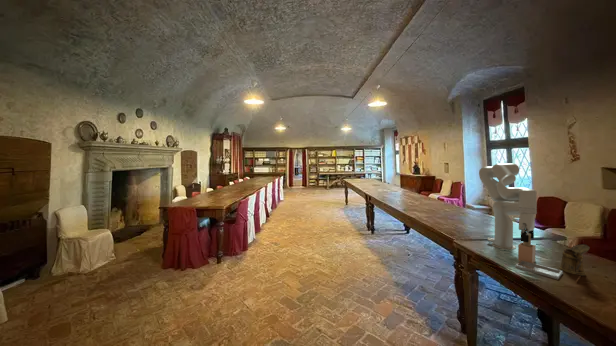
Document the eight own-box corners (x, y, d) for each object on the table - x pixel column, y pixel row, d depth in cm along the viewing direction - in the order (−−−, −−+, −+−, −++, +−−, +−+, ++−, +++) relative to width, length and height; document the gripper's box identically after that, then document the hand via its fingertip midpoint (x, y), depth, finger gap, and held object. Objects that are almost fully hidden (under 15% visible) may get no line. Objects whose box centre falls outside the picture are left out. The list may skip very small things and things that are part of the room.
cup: (518, 261, 133) (518, 244, 133) (521, 259, 137) (521, 242, 136) (532, 265, 128) (532, 247, 128) (535, 262, 131) (535, 245, 131)
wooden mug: (570, 278, 114) (570, 242, 113) (555, 266, 126) (555, 234, 125) (595, 281, 110) (596, 245, 109) (578, 269, 122) (578, 236, 121)
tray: (515, 268, 125) (515, 264, 125) (521, 264, 130) (521, 260, 130) (558, 281, 111) (558, 276, 111) (562, 275, 117) (562, 270, 117)
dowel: (522, 260, 133) (522, 233, 132) (523, 259, 135) (524, 232, 134) (529, 262, 130) (529, 234, 129) (531, 260, 132) (531, 233, 131)
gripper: (523, 207, 139) (523, 235, 139) (513, 211, 129) (513, 241, 130) (540, 209, 132) (540, 238, 133) (531, 213, 123) (531, 244, 124)
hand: (527, 239), depth 131 cm, fingers open, 9 cm apart
